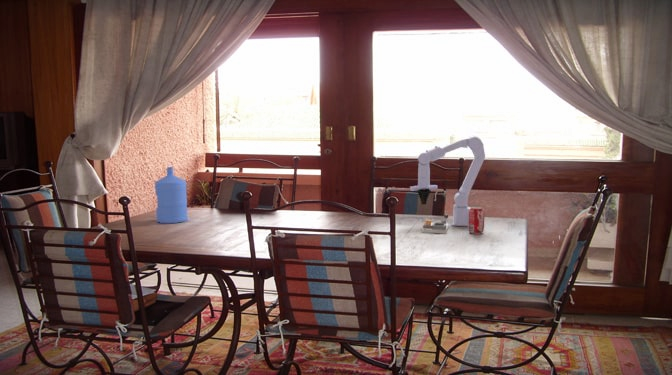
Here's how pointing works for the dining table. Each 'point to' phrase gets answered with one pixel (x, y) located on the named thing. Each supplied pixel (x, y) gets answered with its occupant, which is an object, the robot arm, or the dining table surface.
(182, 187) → the water jug
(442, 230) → the panel
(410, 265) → the dining table surface
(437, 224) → the button
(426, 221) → the orange flat-faced block
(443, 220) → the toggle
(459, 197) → the robot arm
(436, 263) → the dining table surface
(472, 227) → the soda can
